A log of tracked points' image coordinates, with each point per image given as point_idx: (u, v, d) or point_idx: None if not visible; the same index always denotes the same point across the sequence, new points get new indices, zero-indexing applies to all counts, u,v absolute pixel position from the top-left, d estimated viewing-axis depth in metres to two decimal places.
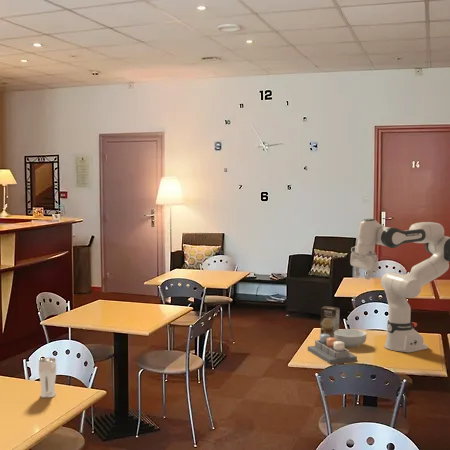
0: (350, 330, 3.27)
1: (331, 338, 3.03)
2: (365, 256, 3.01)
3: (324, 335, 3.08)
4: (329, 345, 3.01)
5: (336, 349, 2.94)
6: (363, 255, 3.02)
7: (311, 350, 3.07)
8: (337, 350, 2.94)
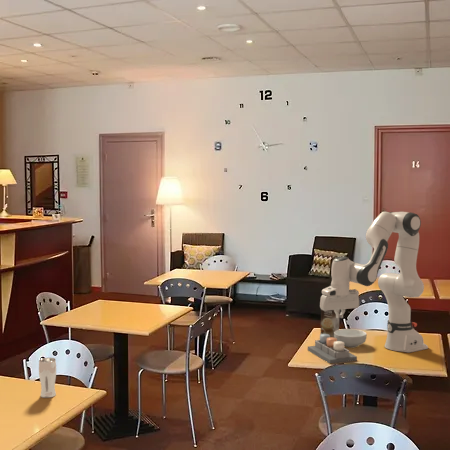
0: (350, 330, 3.27)
1: (331, 338, 3.03)
2: (348, 295, 2.93)
3: (324, 335, 3.08)
4: (329, 345, 3.01)
5: (336, 349, 2.94)
6: (346, 295, 2.92)
7: (311, 350, 3.07)
8: (337, 350, 2.94)
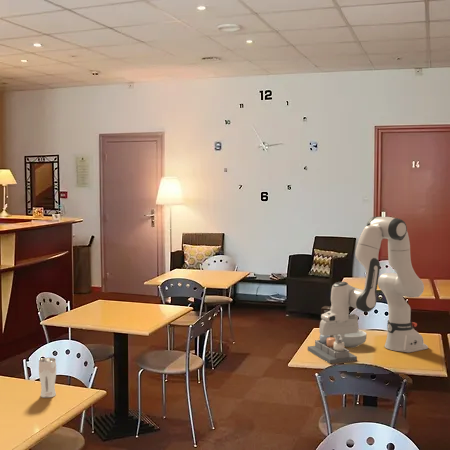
0: None
1: (331, 338, 3.03)
2: (347, 320, 2.94)
3: None
4: (329, 345, 3.01)
5: (336, 349, 2.94)
6: (345, 320, 2.93)
7: (311, 350, 3.07)
8: (337, 350, 2.94)
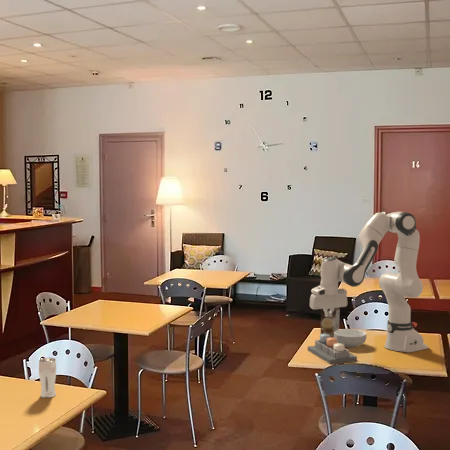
0: (351, 330, 3.27)
1: (331, 338, 3.03)
2: (336, 295, 3.03)
3: (324, 335, 3.08)
4: (329, 345, 3.01)
5: (336, 351, 2.94)
6: (335, 294, 3.02)
7: (311, 350, 3.07)
8: None
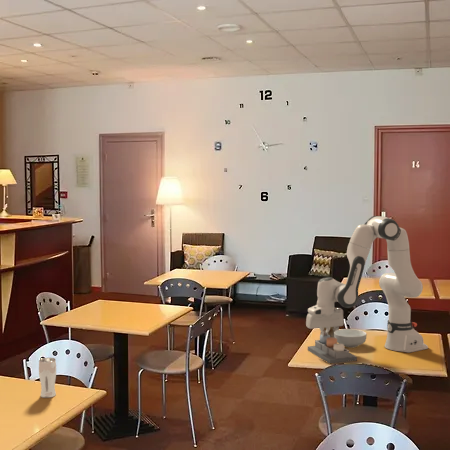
0: (351, 330, 3.27)
1: (331, 338, 3.03)
2: (332, 314, 3.07)
3: None
4: (329, 345, 3.01)
5: (336, 351, 2.94)
6: (331, 314, 3.06)
7: (311, 350, 3.07)
8: None
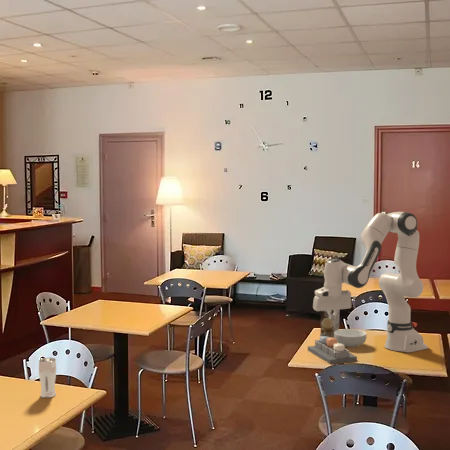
0: (351, 330, 3.27)
1: (331, 338, 3.03)
2: (340, 296, 3.00)
3: (324, 337, 3.09)
4: (329, 345, 3.01)
5: (336, 351, 2.94)
6: (338, 296, 2.99)
7: (311, 350, 3.07)
8: None
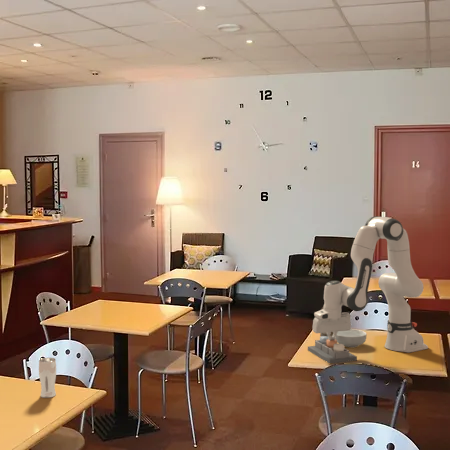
0: (351, 330, 3.27)
1: None
2: (339, 318, 3.01)
3: (324, 337, 3.09)
4: (329, 346, 3.01)
5: (336, 351, 2.94)
6: (338, 318, 3.00)
7: (311, 350, 3.07)
8: None
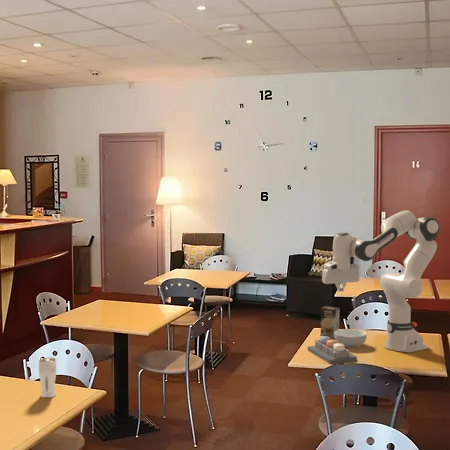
0: (351, 330, 3.27)
1: (331, 340, 3.03)
2: (348, 270, 3.07)
3: (324, 337, 3.09)
4: (329, 347, 3.01)
5: (336, 351, 2.94)
6: (347, 269, 3.06)
7: (311, 350, 3.07)
8: None
